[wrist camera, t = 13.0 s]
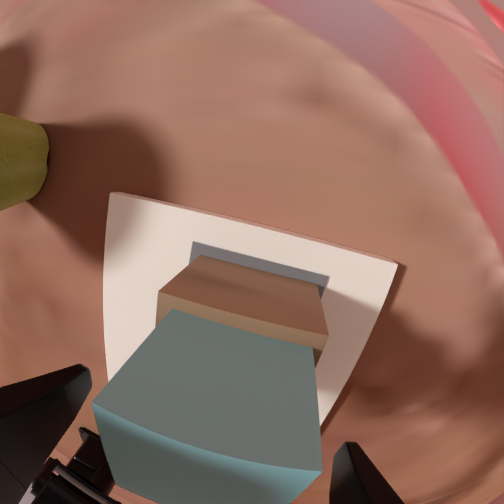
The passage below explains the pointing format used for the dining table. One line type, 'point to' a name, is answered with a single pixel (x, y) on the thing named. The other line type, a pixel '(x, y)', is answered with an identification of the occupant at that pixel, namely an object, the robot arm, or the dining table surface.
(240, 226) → the board
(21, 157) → the plant pot
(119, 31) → the dining table surface
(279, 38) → the dining table surface
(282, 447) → the teal cube
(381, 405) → the dining table surface
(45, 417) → the robot arm
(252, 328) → the walnut block
